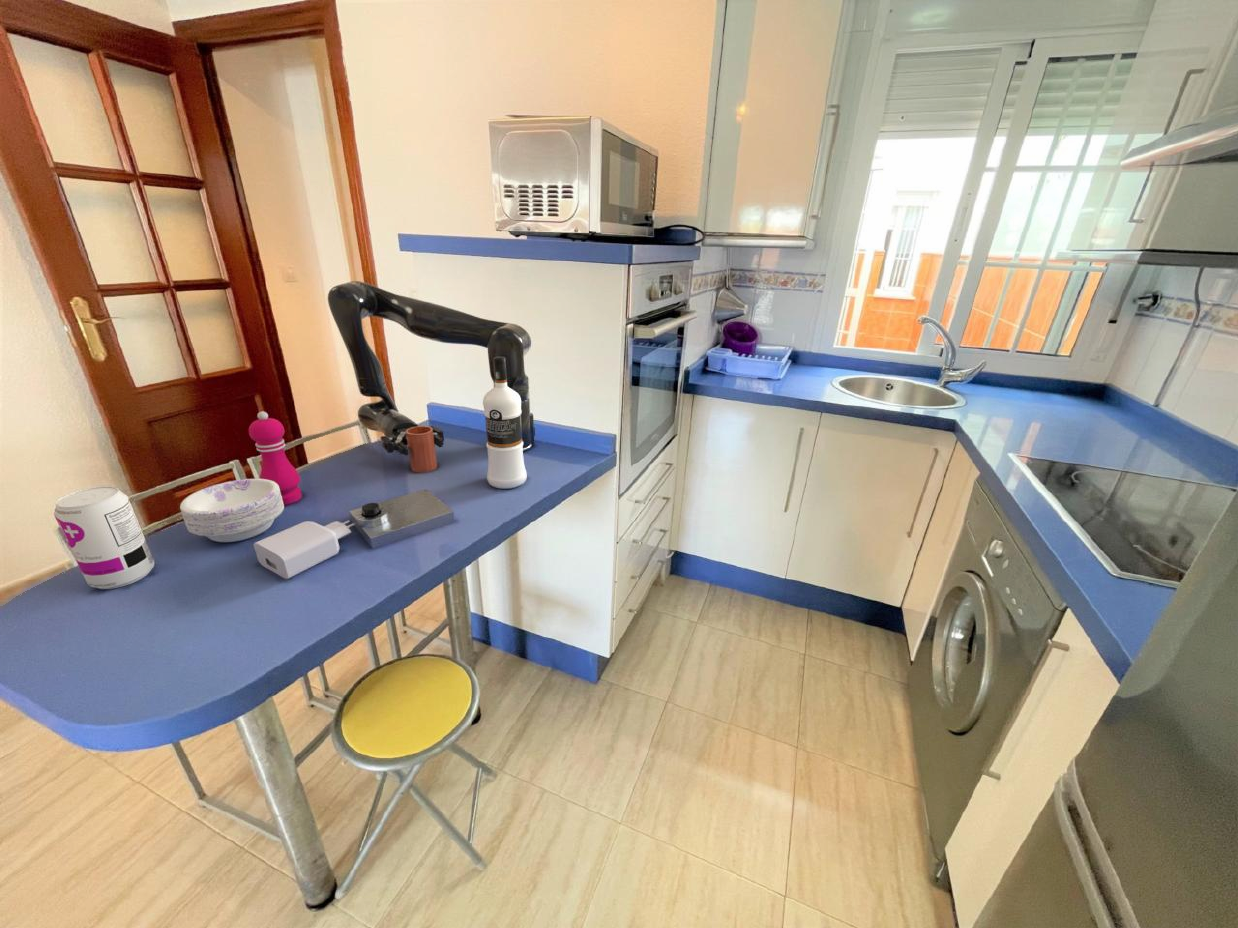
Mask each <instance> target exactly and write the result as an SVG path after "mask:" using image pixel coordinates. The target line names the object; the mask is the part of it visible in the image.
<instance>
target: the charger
mask: <svg viewBox="0 0 1238 928" xmlns="http://www.w3.org/2000/svg"><path fill="white" fill-rule="evenodd" d="M350 522H351V520H349V519H347V520H346V521H344V522H340V521H338V520H336V521H333V522H329V523H328V524H326V525H322V524H319V523H317V522H315V521H307V520H305V521H302V522H299V523H298V524H295V525H293V526H291V527H288V528H287V529H284V530H282V531H279V532H277V533H275V534H274V533H273V534H272V535H270V536H267V537H265V538H262V539H261V540H259V541H255V542H254V543H253V544H252V545H253V548H254V551H255V555H256V558H257V561H258V562H259V564H260V565H261V566H262V567H264V568H266V569H267V570H269V571H271V572H272V573H274V574H276V575H278V576H280V577H281V578H283V579H284V580H289V579H291V578H293V577H295V576H297V575H299V574H301V573H302V572H305V571H306V570H309V569H310V568H312V567H315V566H317V565H318V564H320V563H323V562H325V561H326V560H328V559H331V558H332V557H334V556H336V555H338V554H339V552H340V545H339V540H340V539H342V538H344V537H347V536H349V535H350V534H352V531H351V529H350V528H351V527H355V526H354V525H355V523H350ZM349 523H350V524H349ZM348 524H349V525H348Z"/></svg>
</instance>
